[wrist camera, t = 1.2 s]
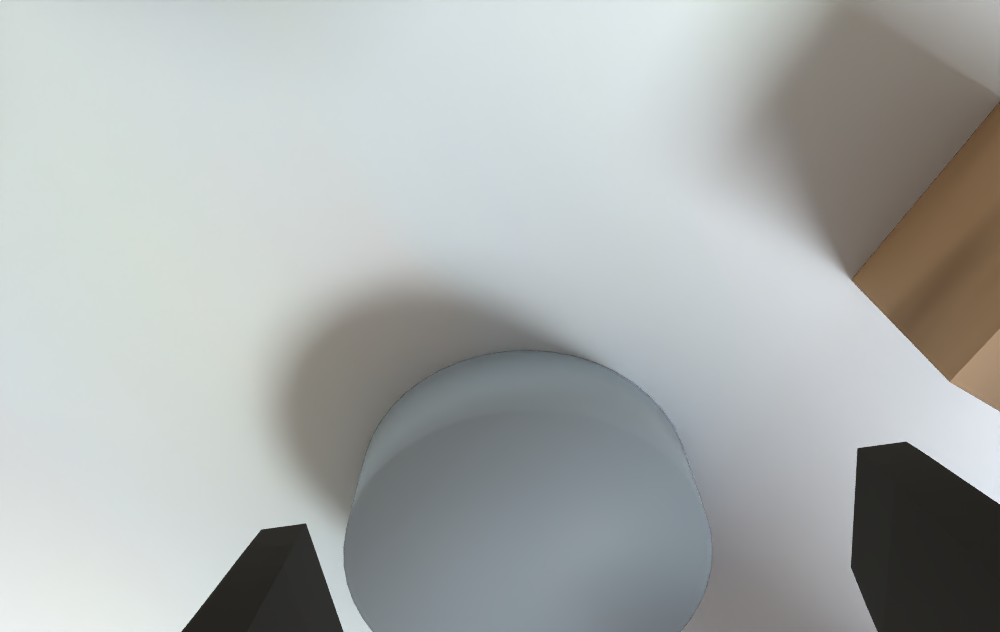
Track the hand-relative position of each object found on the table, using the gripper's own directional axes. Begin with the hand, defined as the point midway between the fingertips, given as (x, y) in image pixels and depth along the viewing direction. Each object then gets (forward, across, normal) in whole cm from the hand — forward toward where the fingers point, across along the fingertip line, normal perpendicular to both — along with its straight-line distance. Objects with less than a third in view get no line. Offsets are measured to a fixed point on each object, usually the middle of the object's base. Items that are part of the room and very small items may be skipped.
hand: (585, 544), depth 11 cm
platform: (+10, +1, +7) cm, 12 cm away
